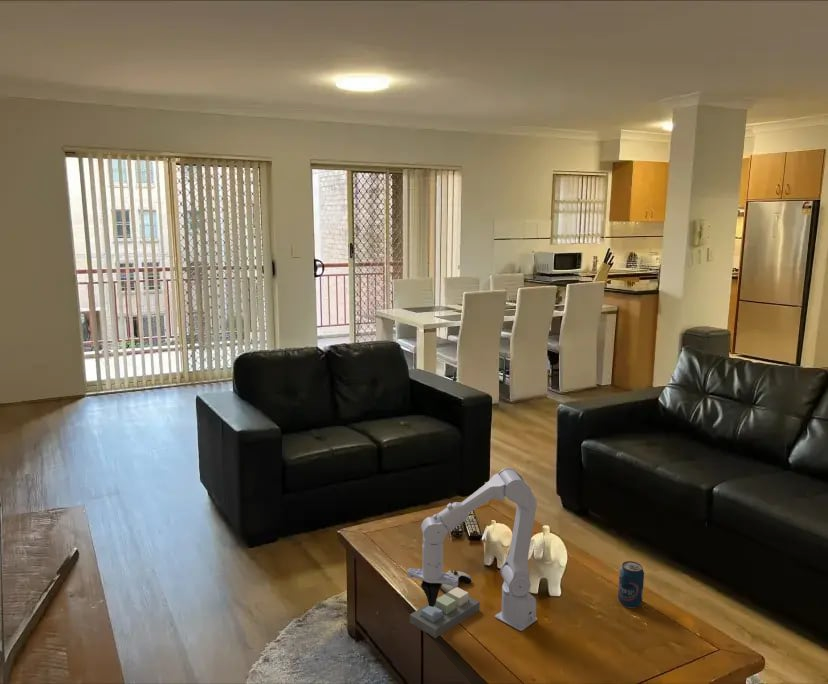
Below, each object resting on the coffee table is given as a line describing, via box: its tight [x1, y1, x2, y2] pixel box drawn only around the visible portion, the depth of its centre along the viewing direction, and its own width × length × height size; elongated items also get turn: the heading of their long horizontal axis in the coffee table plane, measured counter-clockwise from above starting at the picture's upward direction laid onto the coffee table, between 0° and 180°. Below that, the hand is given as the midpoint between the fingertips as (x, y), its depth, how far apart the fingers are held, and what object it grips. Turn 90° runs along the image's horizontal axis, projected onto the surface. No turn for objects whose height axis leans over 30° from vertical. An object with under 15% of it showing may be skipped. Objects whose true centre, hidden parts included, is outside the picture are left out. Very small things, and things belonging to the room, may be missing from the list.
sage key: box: [435, 593, 456, 615], centre depth 194 cm, size 4×4×4 cm
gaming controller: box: [440, 569, 472, 594], centre depth 211 cm, size 11×6×7 cm
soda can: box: [617, 560, 645, 609], centre depth 201 cm, size 7×7×12 cm
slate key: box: [421, 606, 443, 623], centre depth 190 cm, size 4×4×4 cm
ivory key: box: [448, 586, 469, 607], centre depth 198 cm, size 4×4×4 cm
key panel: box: [409, 592, 481, 639], centre depth 194 cm, size 10×19×3 cm, turn 135°
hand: (432, 604), depth 189 cm, fingers closed
